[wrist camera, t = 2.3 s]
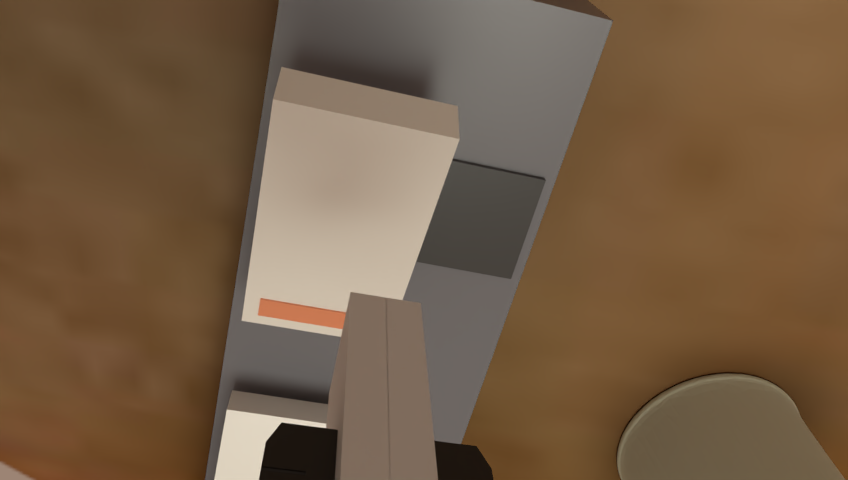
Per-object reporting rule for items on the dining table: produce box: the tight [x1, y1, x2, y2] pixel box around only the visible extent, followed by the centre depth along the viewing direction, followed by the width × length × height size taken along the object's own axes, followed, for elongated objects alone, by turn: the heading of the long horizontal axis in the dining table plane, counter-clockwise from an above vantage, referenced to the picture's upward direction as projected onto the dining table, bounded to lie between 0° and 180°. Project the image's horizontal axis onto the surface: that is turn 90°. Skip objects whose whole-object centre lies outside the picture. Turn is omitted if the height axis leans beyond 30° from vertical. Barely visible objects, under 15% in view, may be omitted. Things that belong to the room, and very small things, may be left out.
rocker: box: [242, 67, 460, 337], centre depth 23 cm, size 9×5×2 cm, turn 166°
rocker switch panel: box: [205, 0, 613, 480], centre depth 29 cm, size 34×10×5 cm, turn 166°
